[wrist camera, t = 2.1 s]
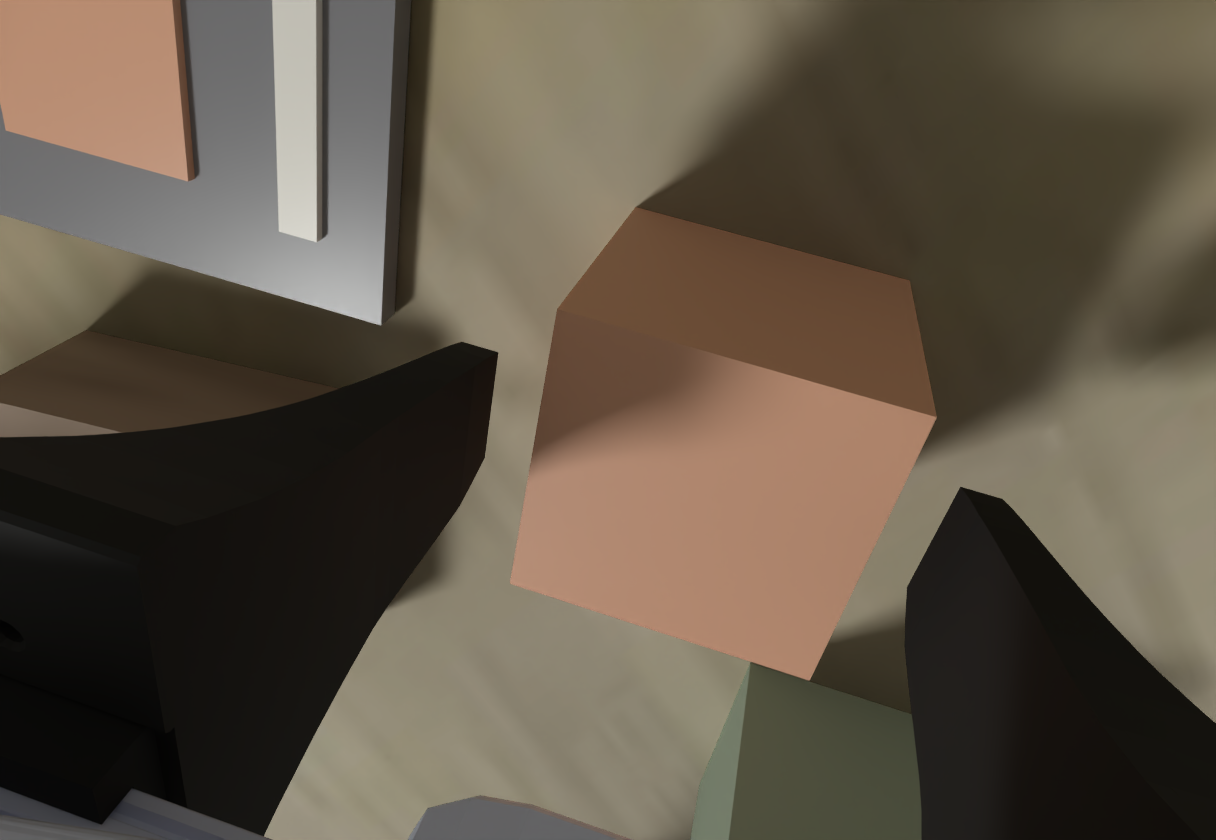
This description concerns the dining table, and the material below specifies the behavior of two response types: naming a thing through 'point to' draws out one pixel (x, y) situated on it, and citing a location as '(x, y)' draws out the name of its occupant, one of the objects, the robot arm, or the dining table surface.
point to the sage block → (809, 767)
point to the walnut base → (133, 389)
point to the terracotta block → (722, 438)
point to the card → (215, 136)
